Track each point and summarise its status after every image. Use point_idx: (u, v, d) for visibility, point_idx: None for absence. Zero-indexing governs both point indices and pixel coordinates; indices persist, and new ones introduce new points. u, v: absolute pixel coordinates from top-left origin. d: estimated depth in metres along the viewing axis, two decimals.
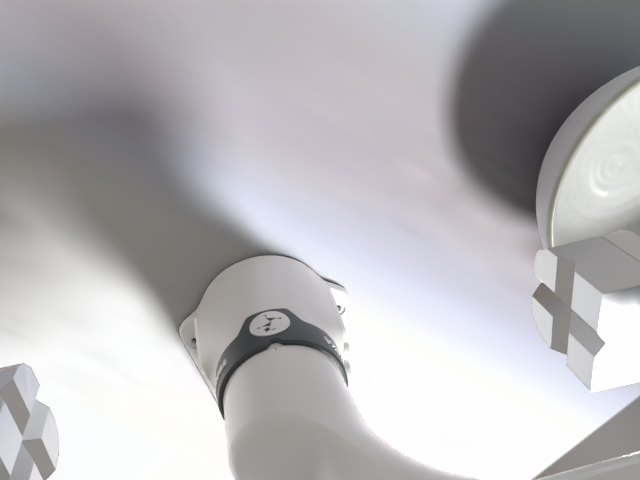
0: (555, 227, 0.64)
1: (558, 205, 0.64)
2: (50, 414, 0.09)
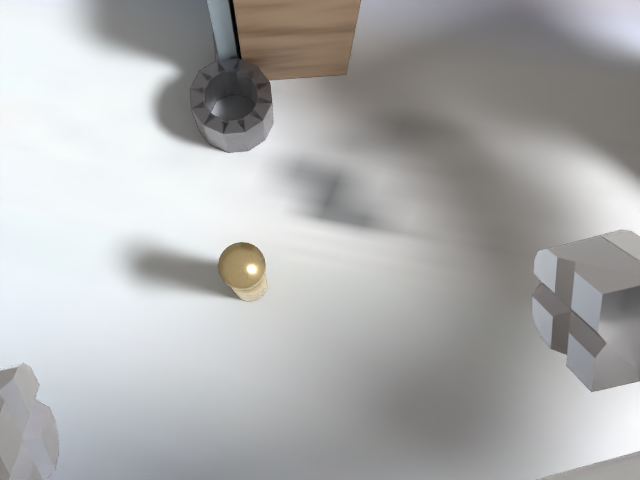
0: None
1: None
2: (50, 414, 0.09)
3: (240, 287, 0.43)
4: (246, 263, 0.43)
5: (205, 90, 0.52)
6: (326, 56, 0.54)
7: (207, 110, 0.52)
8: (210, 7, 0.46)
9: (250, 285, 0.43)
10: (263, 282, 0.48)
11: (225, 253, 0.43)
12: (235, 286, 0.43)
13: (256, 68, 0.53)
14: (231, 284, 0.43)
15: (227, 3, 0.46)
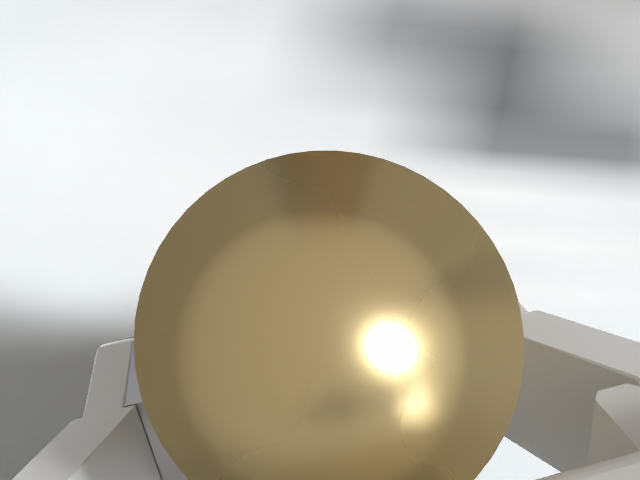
0: None
1: None
2: None
3: None
4: (368, 306, 0.05)
5: None
6: None
7: None
8: None
9: None
10: None
11: (188, 247, 0.05)
12: None
13: None
14: None
15: None
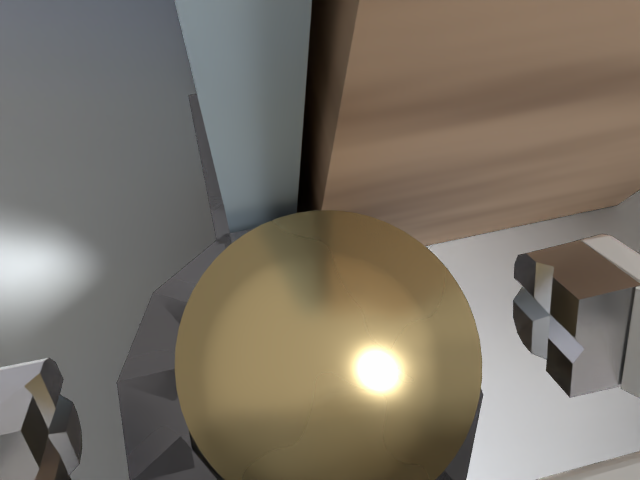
0: None
1: None
2: (73, 409, 0.09)
3: None
4: (359, 337, 0.07)
5: None
6: (619, 165, 0.15)
7: None
8: None
9: None
10: None
11: (215, 289, 0.07)
12: None
13: None
14: None
15: None
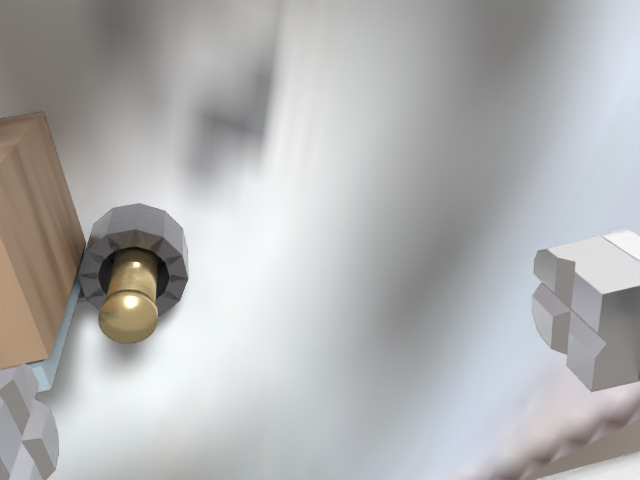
0: None
1: None
2: (50, 414, 0.09)
3: (156, 317, 0.36)
4: (124, 315, 0.36)
5: None
6: (42, 161, 0.37)
7: (159, 299, 0.42)
8: (58, 359, 0.34)
9: (152, 307, 0.36)
10: (139, 261, 0.40)
11: (116, 338, 0.36)
12: (155, 322, 0.36)
13: (88, 253, 0.39)
14: (153, 327, 0.37)
15: None
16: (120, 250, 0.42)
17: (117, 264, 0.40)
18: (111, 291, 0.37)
